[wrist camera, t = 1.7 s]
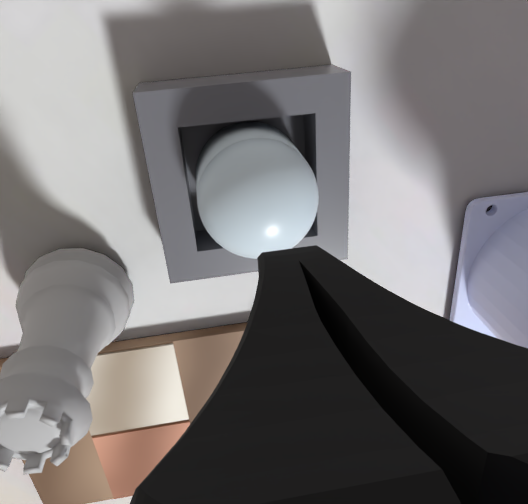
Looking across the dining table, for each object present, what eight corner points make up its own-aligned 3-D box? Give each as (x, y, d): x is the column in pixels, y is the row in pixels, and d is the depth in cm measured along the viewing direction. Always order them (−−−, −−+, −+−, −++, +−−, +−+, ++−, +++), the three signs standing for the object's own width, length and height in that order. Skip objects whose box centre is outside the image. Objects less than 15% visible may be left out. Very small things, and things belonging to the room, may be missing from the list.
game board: (372, 303, 22) (377, 312, 22) (365, 444, 27) (369, 453, 26) (-16, 361, 21) (-23, 372, 20) (49, 500, 25) (45, 512, 25)
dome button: (299, 116, 17) (333, 148, 13) (302, 217, 18) (333, 271, 15) (188, 127, 16) (188, 164, 12) (203, 230, 18) (207, 289, 14)
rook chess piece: (0, 279, 19) (-109, 438, 12) (86, 222, 18) (24, 353, 11) (77, 347, 21) (23, 516, 14) (156, 297, 20) (141, 448, 13)
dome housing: (332, 64, 17) (350, 71, 15) (332, 235, 20) (347, 259, 18) (139, 82, 16) (132, 92, 14) (171, 256, 20) (170, 283, 18)
